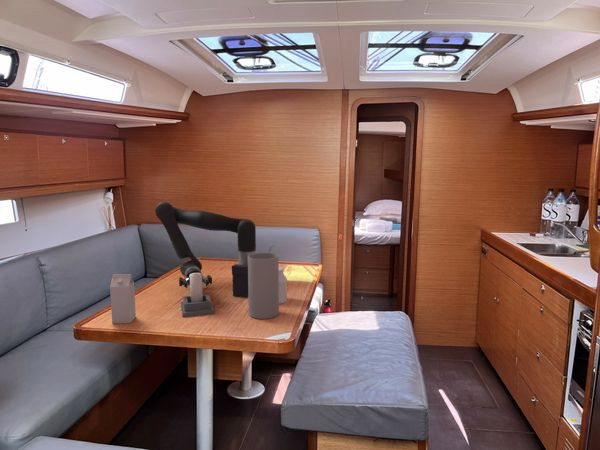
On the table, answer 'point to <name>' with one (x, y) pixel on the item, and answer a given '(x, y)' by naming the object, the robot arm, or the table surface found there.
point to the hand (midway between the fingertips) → (196, 284)
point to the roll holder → (196, 307)
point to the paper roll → (196, 287)
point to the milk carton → (122, 298)
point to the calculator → (240, 280)
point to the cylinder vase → (263, 285)
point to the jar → (282, 286)
